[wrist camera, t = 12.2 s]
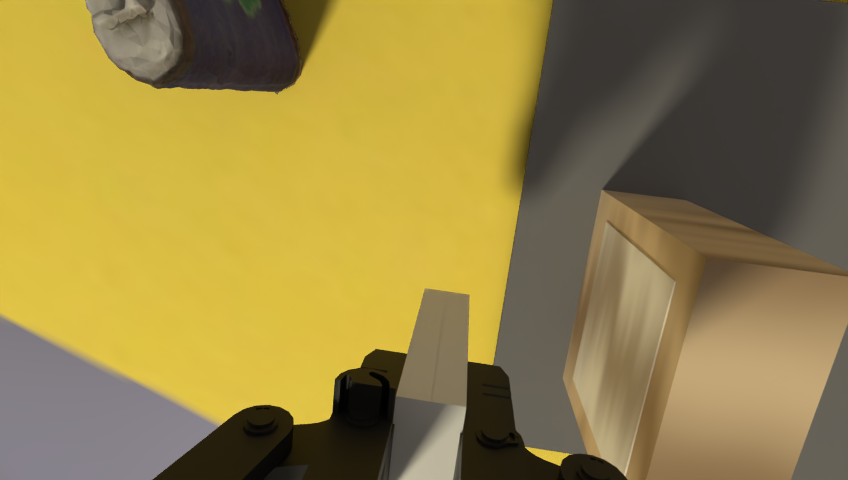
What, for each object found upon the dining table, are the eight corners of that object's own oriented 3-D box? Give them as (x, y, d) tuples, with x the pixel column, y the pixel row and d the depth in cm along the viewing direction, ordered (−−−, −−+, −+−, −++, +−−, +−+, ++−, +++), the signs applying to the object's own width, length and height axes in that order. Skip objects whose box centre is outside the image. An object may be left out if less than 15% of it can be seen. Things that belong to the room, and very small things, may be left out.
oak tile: (600, 189, 21) (704, 257, 12) (686, 200, 21) (863, 278, 11) (561, 377, 24) (621, 563, 14) (638, 389, 23) (752, 585, 14)
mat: (557, -23, 20) (558, -25, 19) (1046, 25, 19) (1058, 23, 18) (481, 434, 25) (481, 439, 25) (854, 493, 24) (861, 499, 24)
